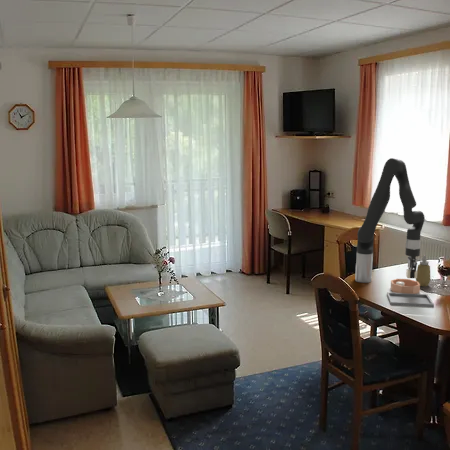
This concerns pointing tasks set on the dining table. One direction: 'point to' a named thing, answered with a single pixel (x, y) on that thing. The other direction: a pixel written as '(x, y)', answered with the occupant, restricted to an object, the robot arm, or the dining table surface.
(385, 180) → the robot arm
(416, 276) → the sandy stone
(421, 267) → the squeeze bottle
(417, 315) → the dining table surface
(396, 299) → the parts tray
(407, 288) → the bowl
